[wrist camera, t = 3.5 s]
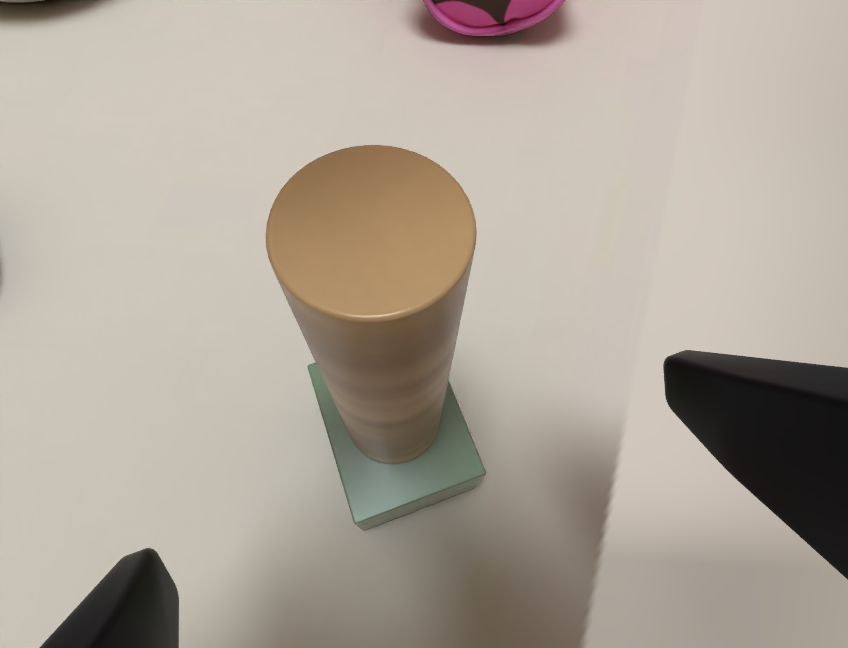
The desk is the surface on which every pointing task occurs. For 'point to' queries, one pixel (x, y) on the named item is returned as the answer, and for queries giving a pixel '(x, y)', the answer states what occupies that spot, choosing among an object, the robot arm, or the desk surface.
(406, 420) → the wooden peg on base
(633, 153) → the desk surface
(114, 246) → the desk surface
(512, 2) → the pencil case
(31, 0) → the planter
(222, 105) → the desk surface
